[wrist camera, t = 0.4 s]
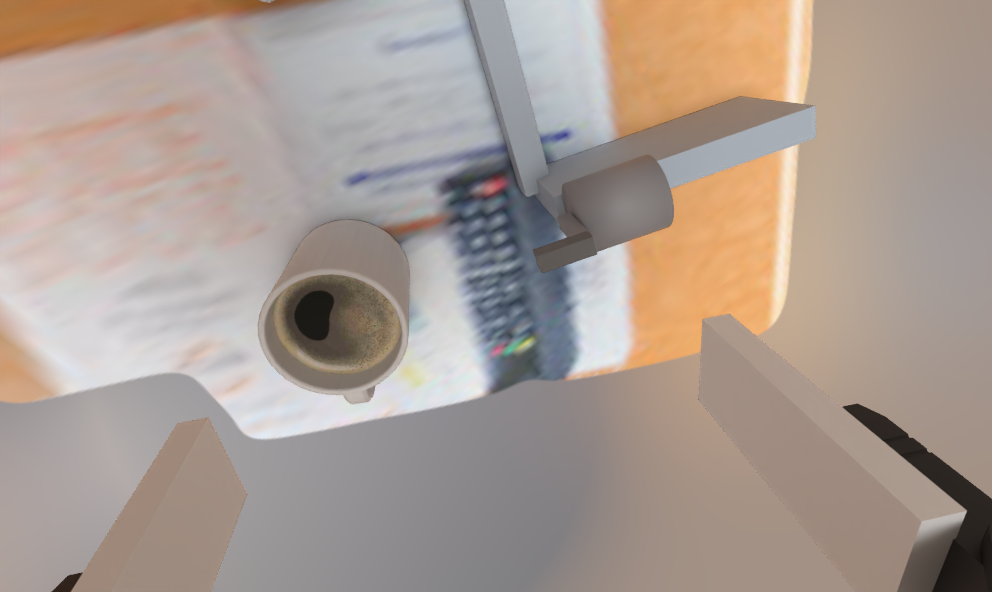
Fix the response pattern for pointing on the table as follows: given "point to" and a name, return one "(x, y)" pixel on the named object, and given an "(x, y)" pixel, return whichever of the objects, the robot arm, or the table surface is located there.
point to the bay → (621, 152)
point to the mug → (339, 311)
